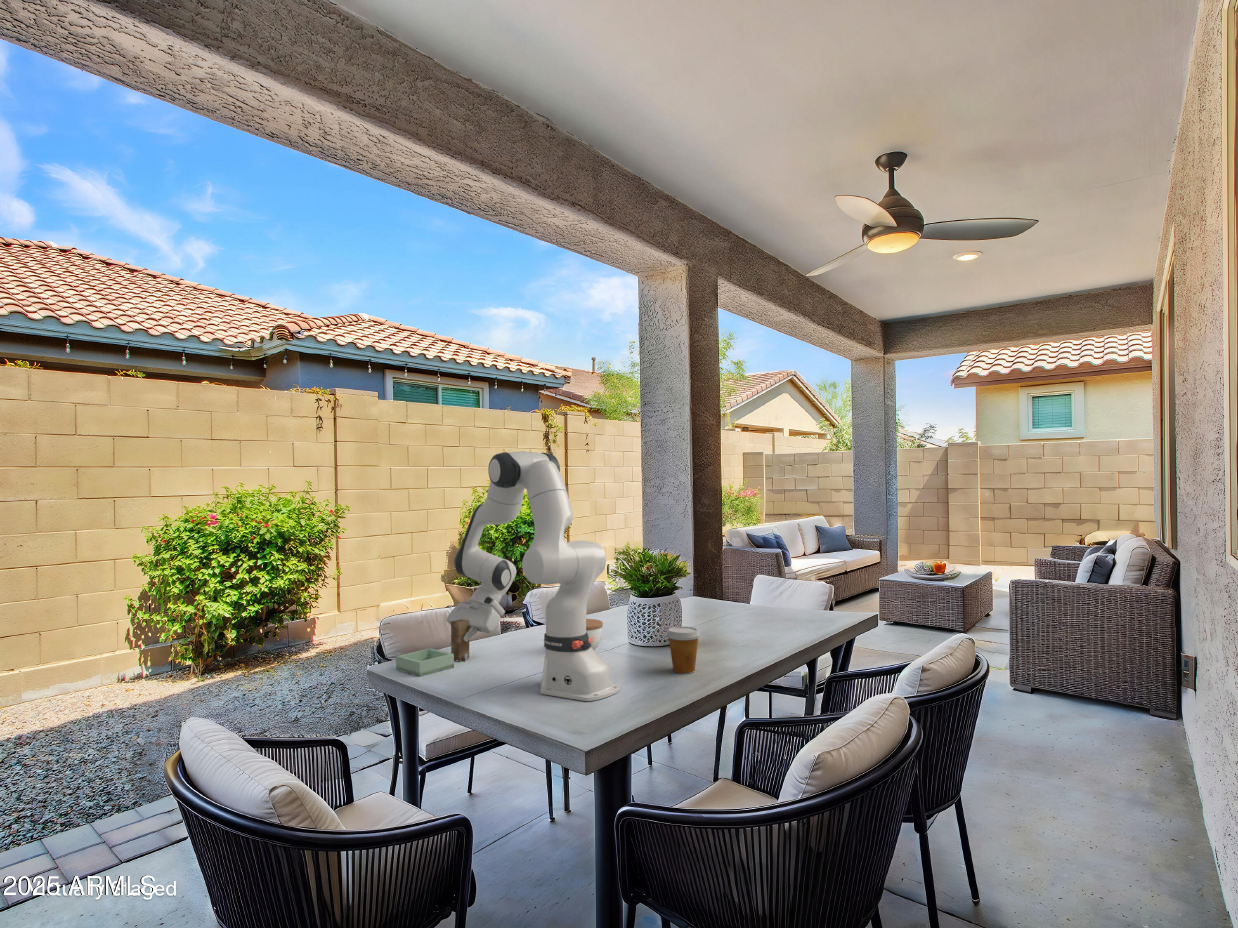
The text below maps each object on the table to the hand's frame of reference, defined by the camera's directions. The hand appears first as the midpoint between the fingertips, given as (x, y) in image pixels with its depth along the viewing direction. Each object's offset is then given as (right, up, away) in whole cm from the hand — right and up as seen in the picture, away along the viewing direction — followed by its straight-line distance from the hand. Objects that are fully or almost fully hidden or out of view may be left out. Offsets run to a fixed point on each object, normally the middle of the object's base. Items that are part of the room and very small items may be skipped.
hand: (458, 639), depth 205 cm
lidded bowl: (+39, -7, +10) cm, 41 cm away
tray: (-8, -6, -10) cm, 14 cm away
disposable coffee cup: (+70, -5, -15) cm, 72 cm away
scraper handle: (0, -6, 0) cm, 6 cm away
